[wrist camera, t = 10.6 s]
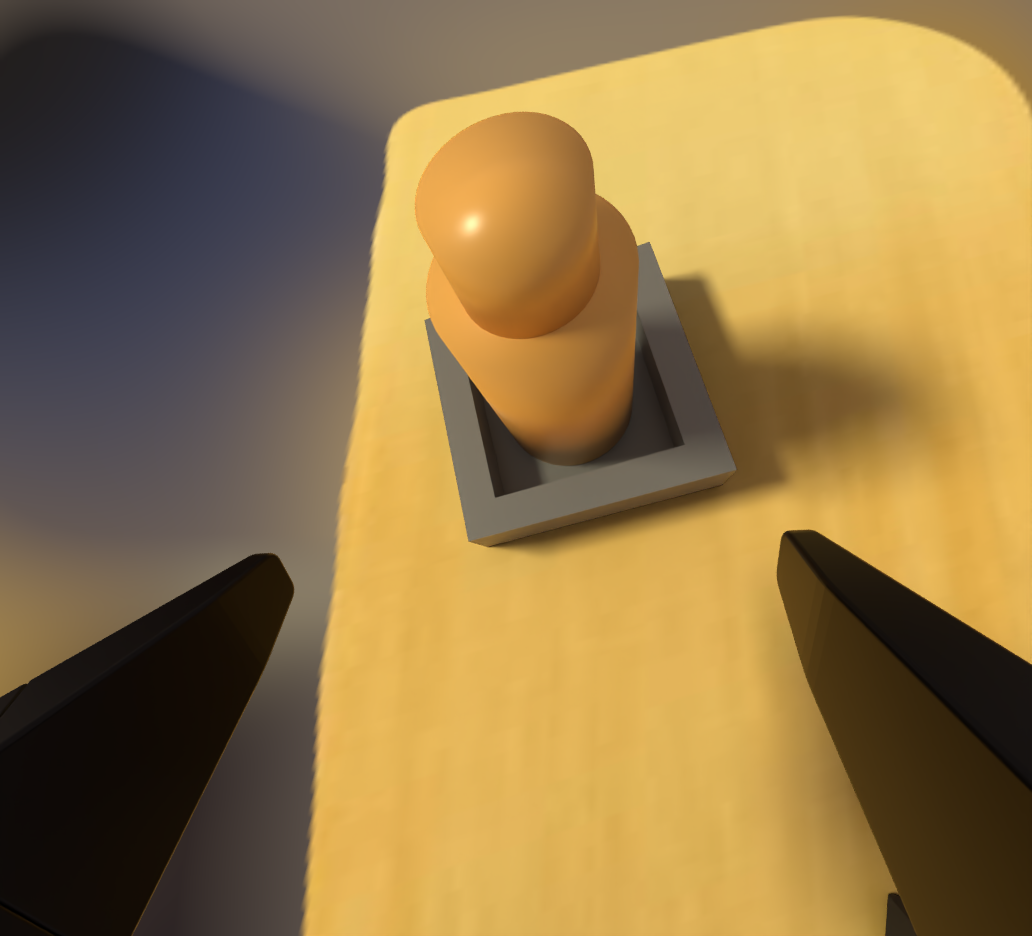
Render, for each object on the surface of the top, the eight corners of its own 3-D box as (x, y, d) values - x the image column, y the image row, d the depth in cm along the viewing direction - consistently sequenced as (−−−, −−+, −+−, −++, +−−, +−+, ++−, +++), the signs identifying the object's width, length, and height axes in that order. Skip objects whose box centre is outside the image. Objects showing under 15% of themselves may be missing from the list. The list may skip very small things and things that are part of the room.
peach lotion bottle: (658, 423, 21) (704, 201, 9) (543, 489, 22) (440, 363, 9) (590, 326, 23) (552, 33, 11) (486, 388, 24) (338, 174, 11)
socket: (722, 484, 21) (736, 469, 18) (487, 546, 22) (468, 541, 20) (646, 280, 24) (649, 241, 21) (445, 347, 26) (424, 320, 23)
